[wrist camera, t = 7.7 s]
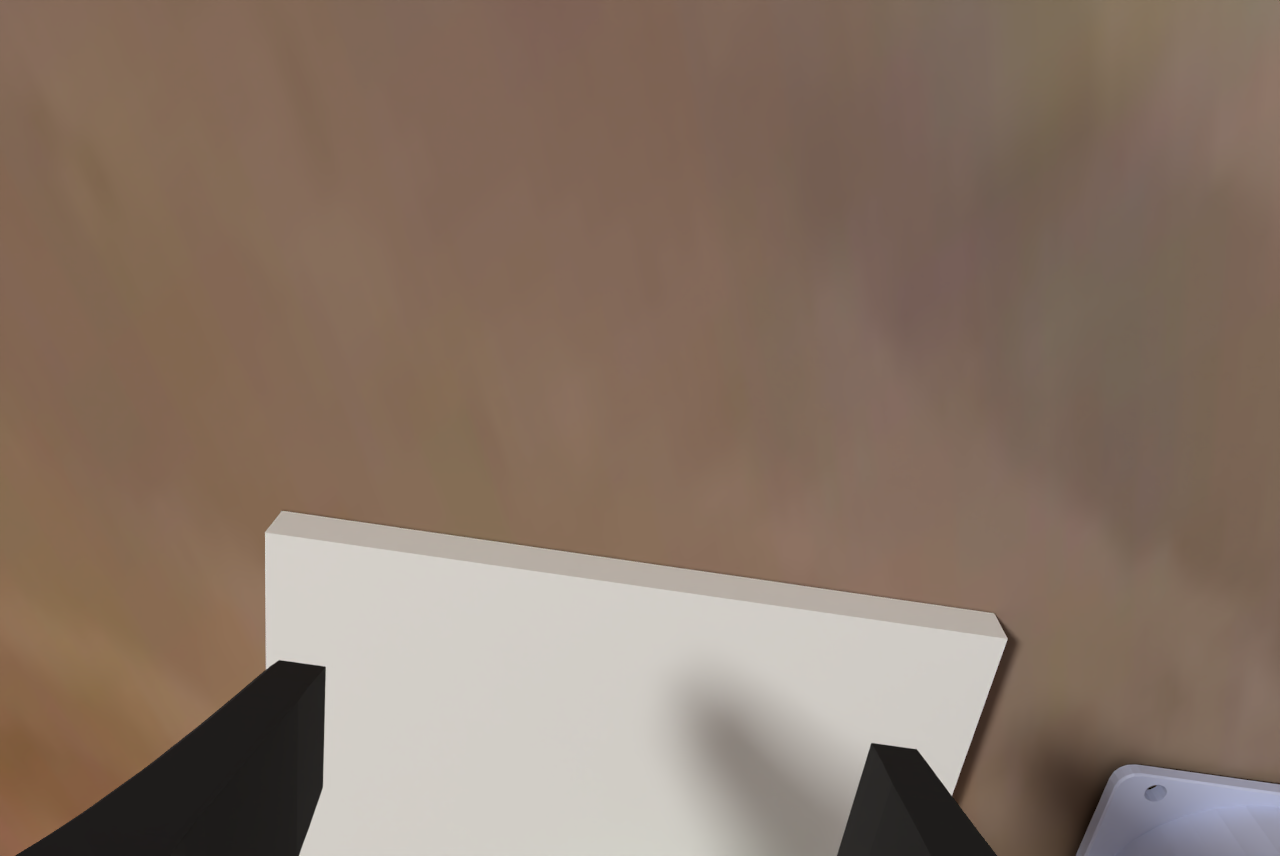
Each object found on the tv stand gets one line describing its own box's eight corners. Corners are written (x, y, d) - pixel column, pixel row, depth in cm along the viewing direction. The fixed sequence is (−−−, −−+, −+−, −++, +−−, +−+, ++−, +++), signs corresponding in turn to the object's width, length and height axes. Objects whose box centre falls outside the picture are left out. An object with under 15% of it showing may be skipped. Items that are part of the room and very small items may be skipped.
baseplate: (994, 613, 23) (1009, 641, 22) (830, 1085, 30) (836, 1124, 29) (281, 510, 22) (263, 534, 21) (280, 1014, 29) (266, 1050, 28)
